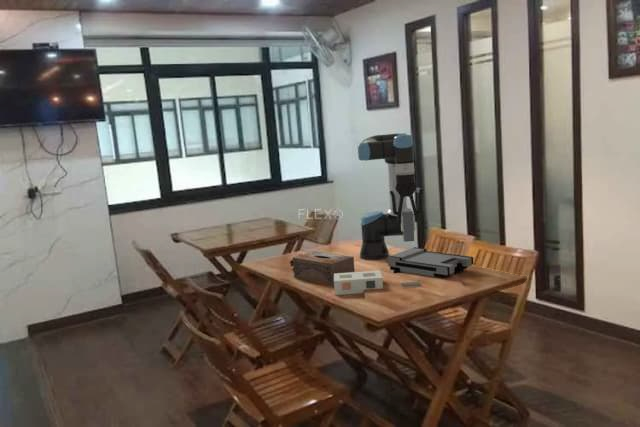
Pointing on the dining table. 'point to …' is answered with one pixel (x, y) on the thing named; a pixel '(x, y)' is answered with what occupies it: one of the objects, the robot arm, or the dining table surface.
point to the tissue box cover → (321, 266)
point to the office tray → (428, 263)
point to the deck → (411, 284)
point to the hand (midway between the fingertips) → (408, 230)
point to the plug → (408, 225)
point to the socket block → (357, 282)
